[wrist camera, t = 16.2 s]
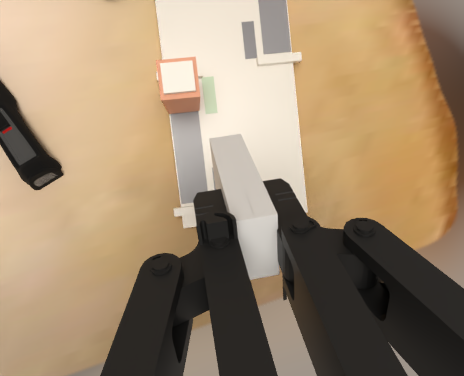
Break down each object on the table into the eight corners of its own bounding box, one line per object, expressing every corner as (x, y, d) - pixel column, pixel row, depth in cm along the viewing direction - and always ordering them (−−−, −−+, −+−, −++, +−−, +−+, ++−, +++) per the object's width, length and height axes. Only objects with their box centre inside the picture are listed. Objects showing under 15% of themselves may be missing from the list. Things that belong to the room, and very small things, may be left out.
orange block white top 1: (169, 114, 39) (160, 99, 29) (165, 83, 39) (155, 58, 29) (199, 110, 39) (200, 95, 30) (195, 80, 39) (195, 54, 29)
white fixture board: (177, 225, 42) (176, 230, 39) (140, -68, 40) (136, -85, 37) (308, 209, 43) (316, 212, 40) (280, -77, 41) (286, -94, 38)
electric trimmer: (-18, 41, 40) (-37, 30, 36) (68, 173, 41) (57, 173, 38) (-51, 60, 39) (-73, 51, 36) (36, 192, 41) (23, 194, 38)
